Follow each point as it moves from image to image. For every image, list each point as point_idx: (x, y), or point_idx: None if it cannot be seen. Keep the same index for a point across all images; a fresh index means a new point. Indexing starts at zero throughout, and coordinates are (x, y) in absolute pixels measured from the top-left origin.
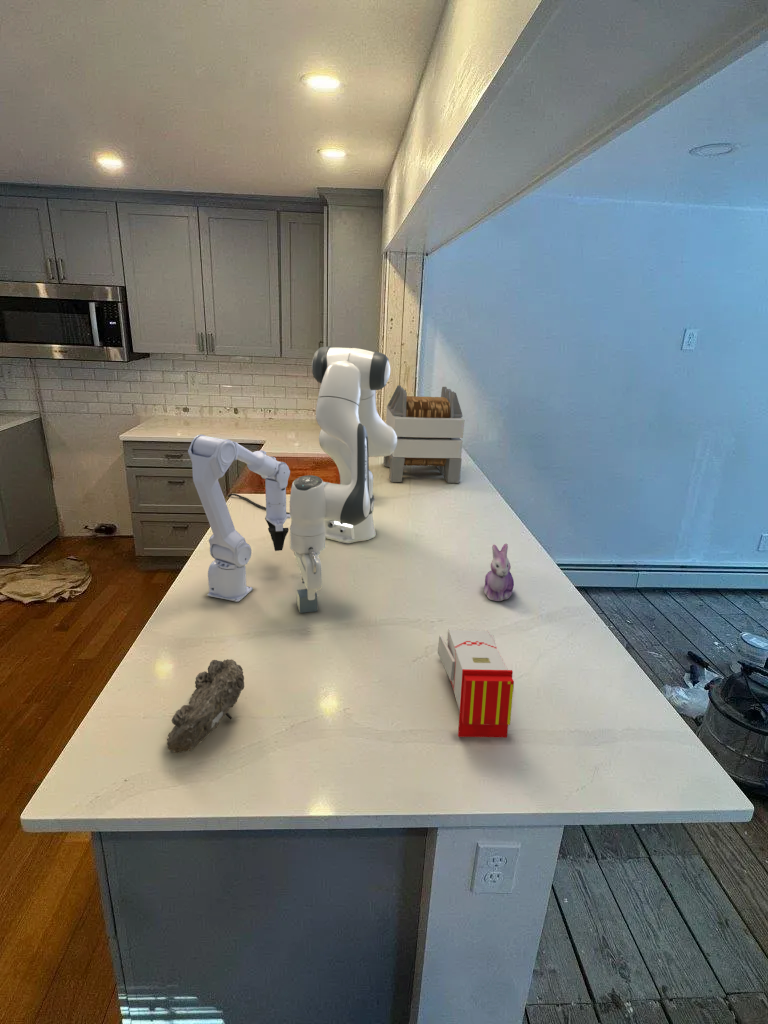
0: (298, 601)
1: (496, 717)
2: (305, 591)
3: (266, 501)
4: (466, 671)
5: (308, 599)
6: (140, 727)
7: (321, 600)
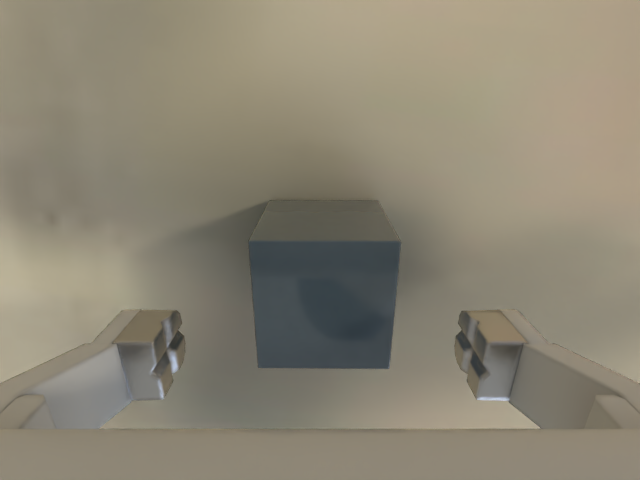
0: (316, 218)
1: None
2: (350, 301)
3: None
4: None
5: (122, 312)
6: None
7: None
